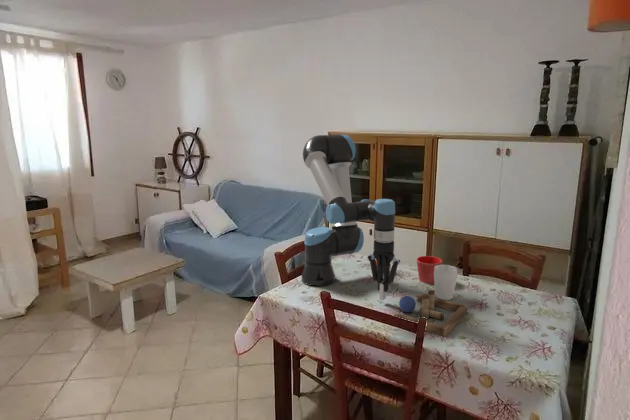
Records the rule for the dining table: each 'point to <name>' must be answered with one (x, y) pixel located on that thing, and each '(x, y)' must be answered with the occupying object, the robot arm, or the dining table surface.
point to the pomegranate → (383, 267)
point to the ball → (407, 304)
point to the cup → (445, 281)
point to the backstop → (449, 324)
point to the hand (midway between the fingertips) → (382, 298)
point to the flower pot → (427, 268)
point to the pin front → (434, 314)
